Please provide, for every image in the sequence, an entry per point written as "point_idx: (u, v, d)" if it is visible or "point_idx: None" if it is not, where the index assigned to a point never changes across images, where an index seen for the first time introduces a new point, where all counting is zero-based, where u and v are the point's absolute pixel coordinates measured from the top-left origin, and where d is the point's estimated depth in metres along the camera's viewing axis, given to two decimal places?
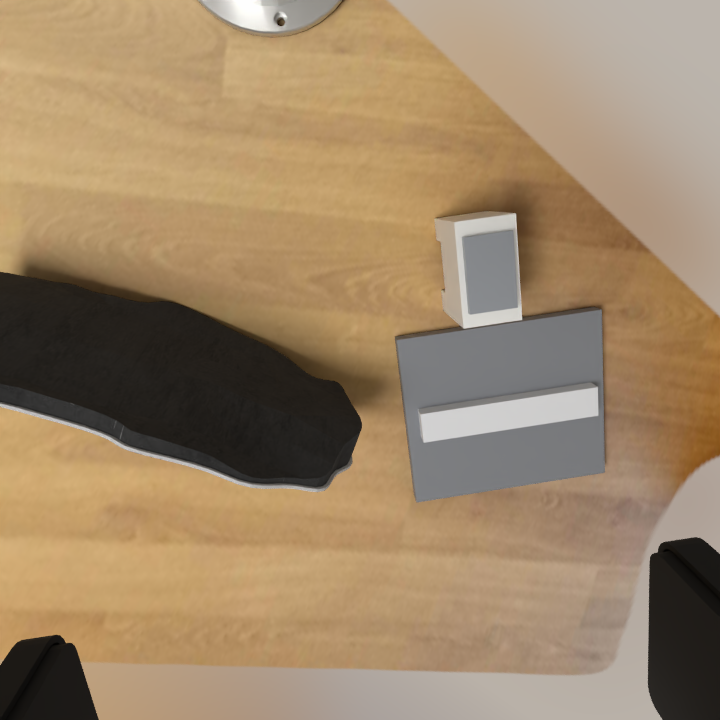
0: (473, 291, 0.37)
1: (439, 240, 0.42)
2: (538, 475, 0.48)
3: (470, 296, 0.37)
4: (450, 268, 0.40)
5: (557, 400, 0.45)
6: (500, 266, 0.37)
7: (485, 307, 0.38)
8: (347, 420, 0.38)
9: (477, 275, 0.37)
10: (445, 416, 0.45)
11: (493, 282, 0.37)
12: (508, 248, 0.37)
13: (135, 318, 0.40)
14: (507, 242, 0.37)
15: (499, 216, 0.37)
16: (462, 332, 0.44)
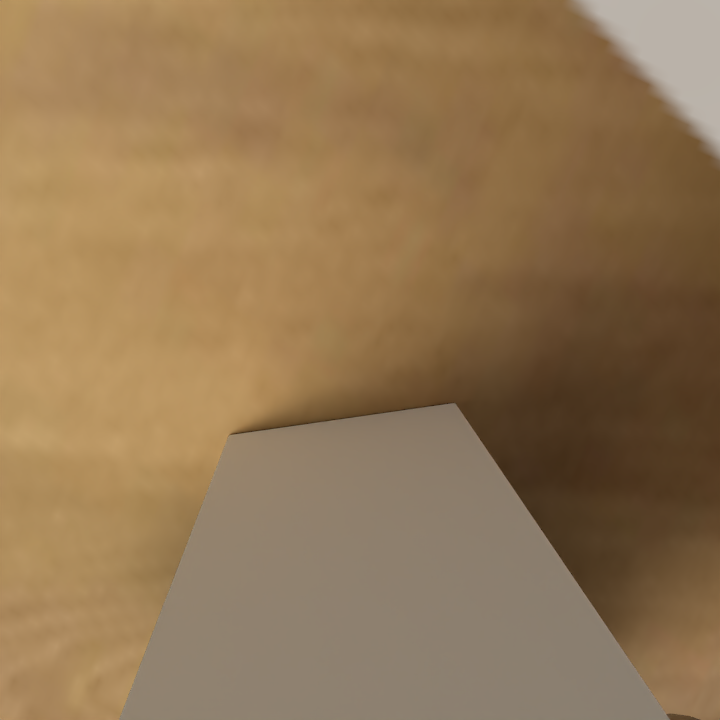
0: None
1: None
2: None
3: None
4: None
5: None
6: None
7: None
8: None
9: None
10: None
11: None
12: None
13: None
14: None
15: None
16: None
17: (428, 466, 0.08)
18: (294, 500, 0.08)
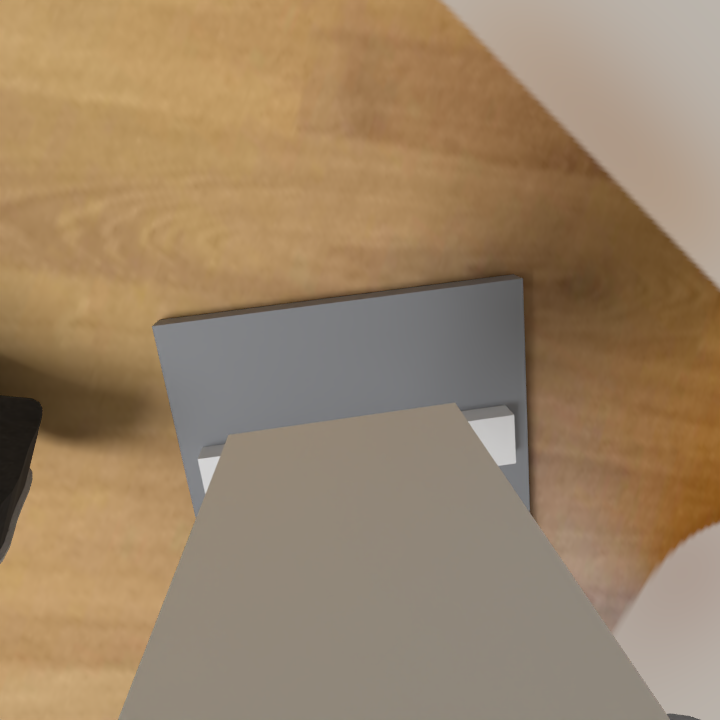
0: None
1: None
2: None
3: None
4: None
5: None
6: None
7: None
8: None
9: None
10: None
11: None
12: None
13: None
14: None
15: None
16: (272, 314, 0.25)
17: (428, 466, 0.08)
18: (294, 500, 0.07)
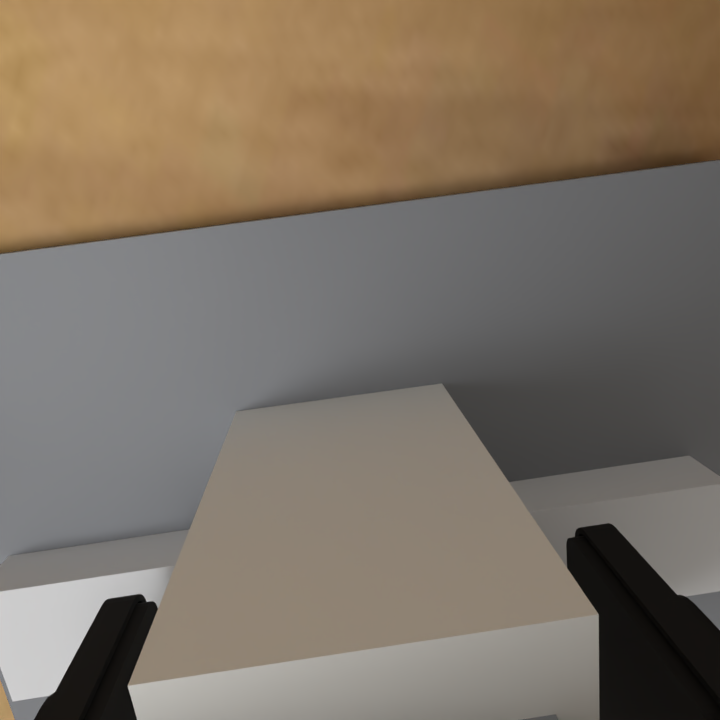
0: None
1: None
2: None
3: None
4: None
5: (561, 535, 0.11)
6: None
7: None
8: None
9: None
10: (86, 602, 0.11)
11: None
12: None
13: None
14: None
15: (475, 637, 0.05)
16: (150, 245, 0.10)
17: (415, 434, 0.09)
18: (296, 462, 0.09)
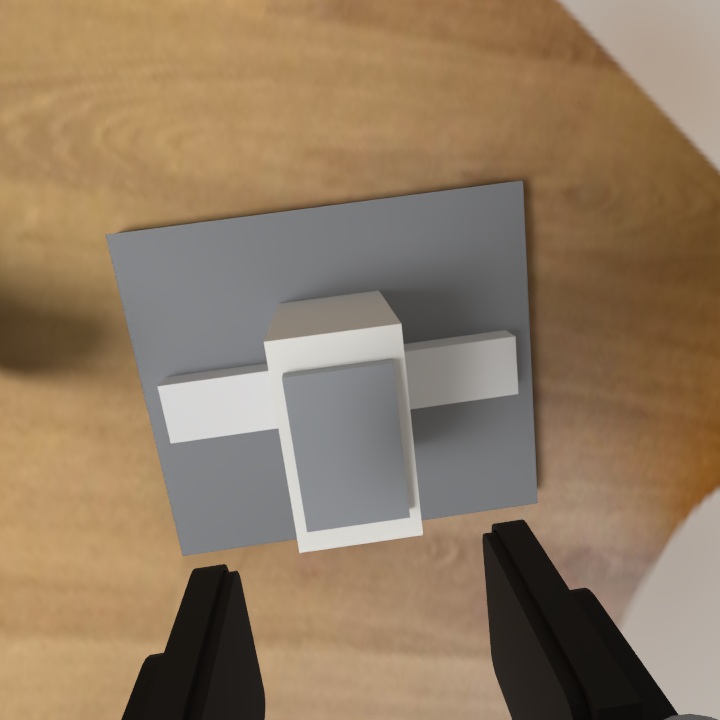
0: (311, 486, 0.17)
1: None
2: None
3: (305, 496, 0.17)
4: None
5: (435, 362, 0.23)
6: (368, 437, 0.17)
7: (338, 517, 0.18)
8: None
9: (317, 455, 0.17)
10: (208, 391, 0.22)
11: (353, 468, 0.17)
12: (384, 400, 0.17)
13: None
14: (380, 389, 0.17)
15: (364, 330, 0.17)
16: (240, 221, 0.22)
17: (360, 302, 0.21)
18: (309, 311, 0.20)
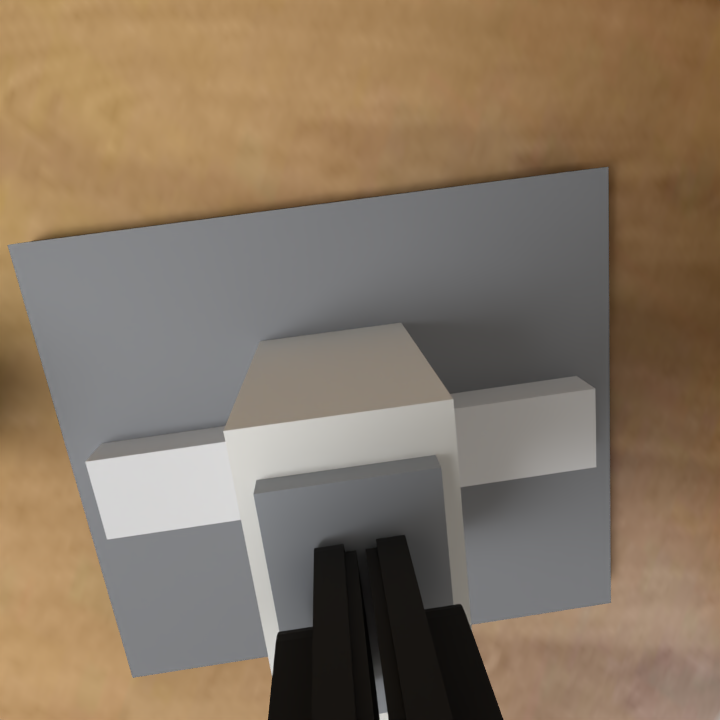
0: None
1: None
2: None
3: None
4: None
5: (481, 425, 0.16)
6: None
7: None
8: None
9: None
10: (159, 468, 0.16)
11: (371, 631, 0.11)
12: (424, 525, 0.10)
13: None
14: (418, 508, 0.10)
15: (392, 410, 0.10)
16: (203, 226, 0.15)
17: (378, 346, 0.14)
18: (302, 360, 0.14)
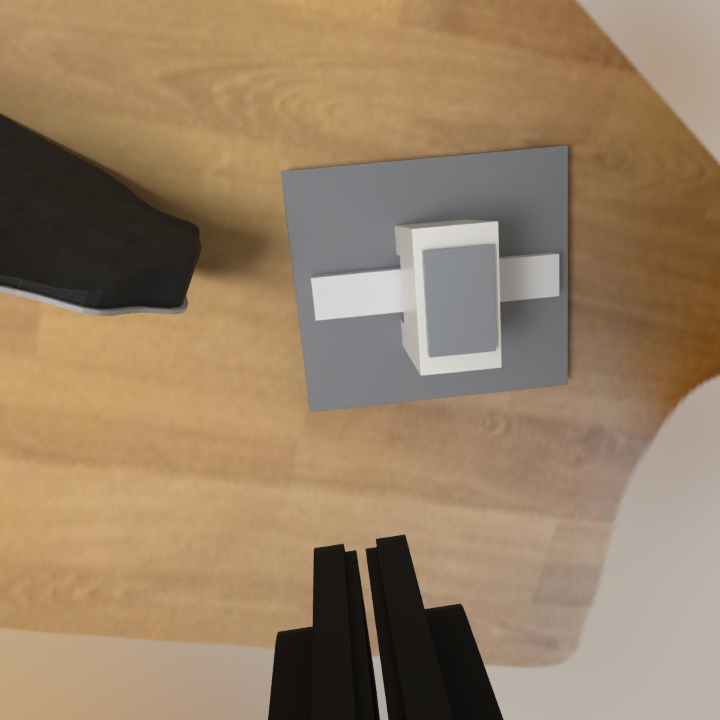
0: (435, 326, 0.27)
1: (399, 254, 0.32)
2: (477, 383, 0.35)
3: (430, 332, 0.27)
4: (408, 292, 0.29)
5: (502, 269, 0.32)
6: (473, 293, 0.27)
7: (450, 348, 0.27)
8: (176, 245, 0.26)
9: (440, 304, 0.27)
10: (345, 283, 0.32)
11: (462, 314, 0.27)
12: (485, 269, 0.26)
13: None
14: (483, 261, 0.26)
15: (475, 224, 0.26)
16: (373, 166, 0.32)
17: (457, 221, 0.31)
18: (424, 224, 0.30)
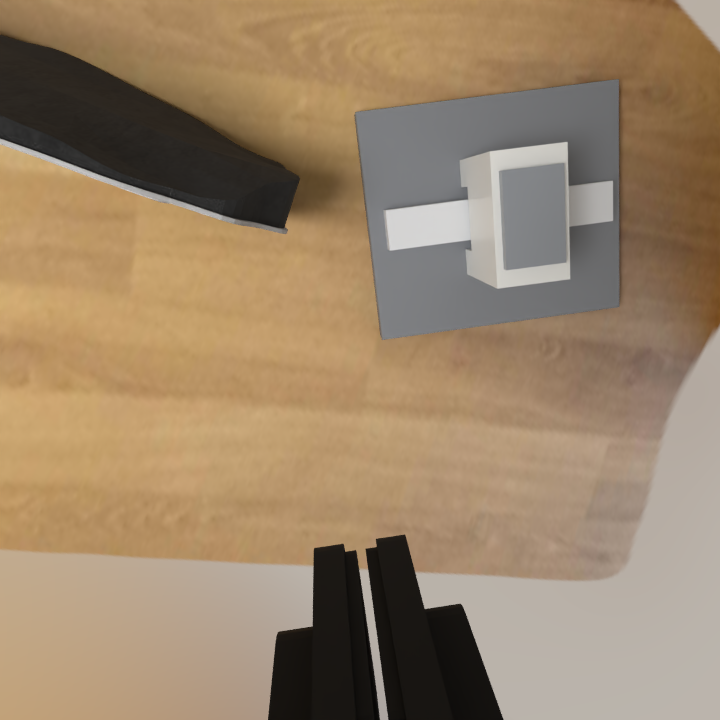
0: (511, 240, 0.30)
1: (465, 185, 0.35)
2: (536, 308, 0.38)
3: (507, 246, 0.30)
4: (480, 216, 0.32)
5: None
6: (546, 209, 0.29)
7: (525, 260, 0.30)
8: (279, 172, 0.28)
9: (517, 220, 0.29)
10: (417, 214, 0.35)
11: (536, 229, 0.30)
12: (557, 186, 0.29)
13: (3, 46, 0.30)
14: (555, 178, 0.29)
15: (546, 145, 0.29)
16: (440, 104, 0.34)
17: None
18: None
